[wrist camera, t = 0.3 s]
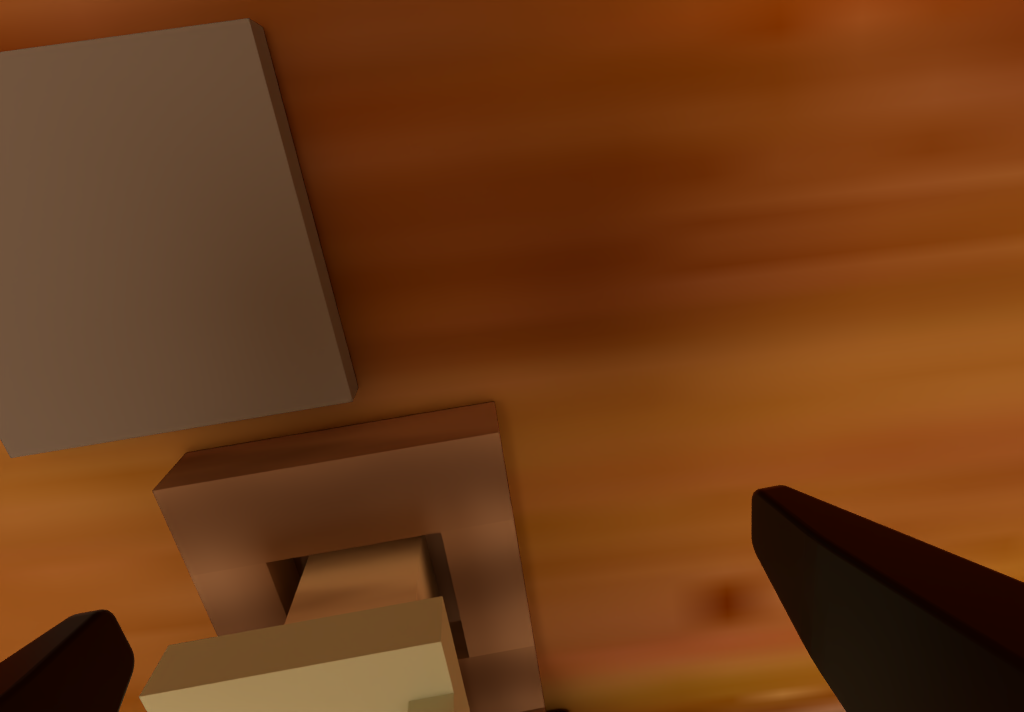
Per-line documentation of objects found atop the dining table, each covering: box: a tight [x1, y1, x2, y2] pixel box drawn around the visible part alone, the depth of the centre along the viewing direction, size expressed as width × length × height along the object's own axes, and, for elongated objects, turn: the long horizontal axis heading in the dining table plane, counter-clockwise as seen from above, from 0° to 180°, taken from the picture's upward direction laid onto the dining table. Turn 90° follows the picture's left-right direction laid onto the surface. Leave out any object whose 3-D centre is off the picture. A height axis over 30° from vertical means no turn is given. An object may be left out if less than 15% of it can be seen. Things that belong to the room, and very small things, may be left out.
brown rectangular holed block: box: [153, 402, 546, 712], centre depth 20 cm, size 16×25×9 cm, turn 98°
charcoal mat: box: [0, 18, 358, 458], centre depth 18 cm, size 12×12×1 cm
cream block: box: [284, 535, 440, 625], centre depth 21 cm, size 4×4×6 cm
